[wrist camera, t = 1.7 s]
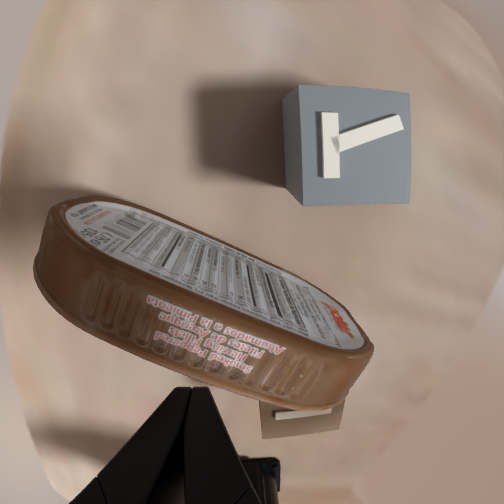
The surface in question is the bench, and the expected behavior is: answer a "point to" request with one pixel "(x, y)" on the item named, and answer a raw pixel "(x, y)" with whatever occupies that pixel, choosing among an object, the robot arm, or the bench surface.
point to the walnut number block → (297, 420)
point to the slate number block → (347, 145)
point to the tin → (198, 305)
